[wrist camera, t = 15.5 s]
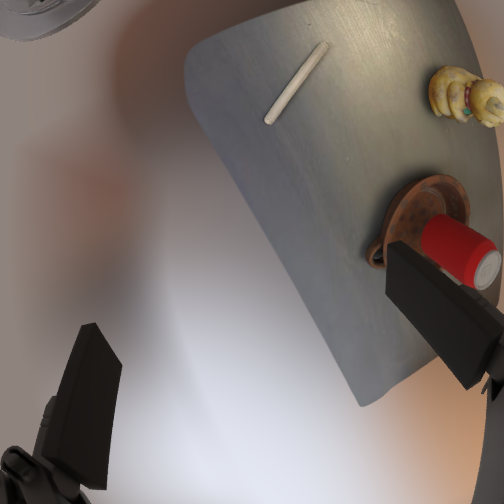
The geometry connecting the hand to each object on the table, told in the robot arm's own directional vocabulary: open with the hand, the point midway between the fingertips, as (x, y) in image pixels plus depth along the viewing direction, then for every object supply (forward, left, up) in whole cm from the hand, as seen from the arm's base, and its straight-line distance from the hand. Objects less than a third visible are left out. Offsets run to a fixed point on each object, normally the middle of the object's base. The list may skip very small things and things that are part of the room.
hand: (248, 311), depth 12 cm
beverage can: (+30, +12, -22) cm, 38 cm away
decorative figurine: (+20, +31, -27) cm, 45 cm away
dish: (+30, +12, -27) cm, 41 cm away
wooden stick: (+2, +16, -26) cm, 31 cm away
